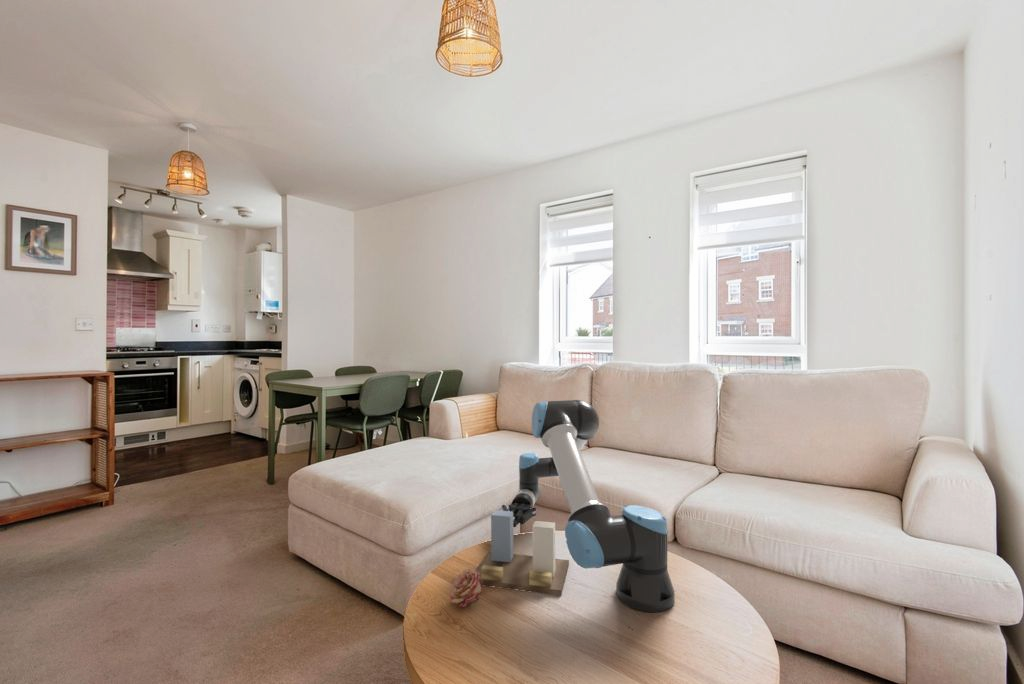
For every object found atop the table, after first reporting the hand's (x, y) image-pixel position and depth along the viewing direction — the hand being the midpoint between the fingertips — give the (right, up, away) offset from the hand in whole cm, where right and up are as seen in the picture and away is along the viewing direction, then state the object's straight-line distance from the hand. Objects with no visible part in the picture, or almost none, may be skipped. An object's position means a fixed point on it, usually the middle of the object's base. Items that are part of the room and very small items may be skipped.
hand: (507, 528), depth 149 cm
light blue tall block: (-1, -6, -7) cm, 10 cm away
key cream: (+11, -6, -16) cm, 20 cm away
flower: (-11, -9, -28) cm, 31 cm away
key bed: (+4, -8, -13) cm, 16 cm away
